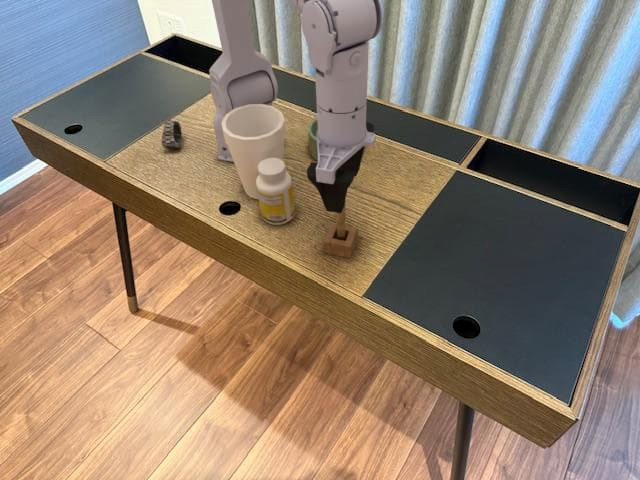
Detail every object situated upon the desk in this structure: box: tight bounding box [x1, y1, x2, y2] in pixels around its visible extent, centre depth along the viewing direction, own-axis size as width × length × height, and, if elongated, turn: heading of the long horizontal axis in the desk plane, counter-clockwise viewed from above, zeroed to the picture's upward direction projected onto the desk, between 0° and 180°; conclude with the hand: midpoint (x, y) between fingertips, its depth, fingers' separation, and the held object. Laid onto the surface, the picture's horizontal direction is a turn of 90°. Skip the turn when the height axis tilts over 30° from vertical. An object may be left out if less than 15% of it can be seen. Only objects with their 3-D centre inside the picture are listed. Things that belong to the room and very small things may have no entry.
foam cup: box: [221, 104, 287, 200], centre depth 77 cm, size 10×9×13 cm
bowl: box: [307, 117, 318, 162], centre depth 87 cm, size 9×9×4 cm
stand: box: [323, 222, 359, 259], centre depth 72 cm, size 4×4×2 cm
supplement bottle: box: [256, 158, 296, 226], centre depth 74 cm, size 5×5×10 cm
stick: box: [336, 200, 347, 241], centre depth 69 cm, size 1×1×10 cm
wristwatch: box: [161, 120, 183, 150], centre depth 90 cm, size 3×5×5 cm
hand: (342, 191), depth 65 cm, fingers open, 7 cm apart
